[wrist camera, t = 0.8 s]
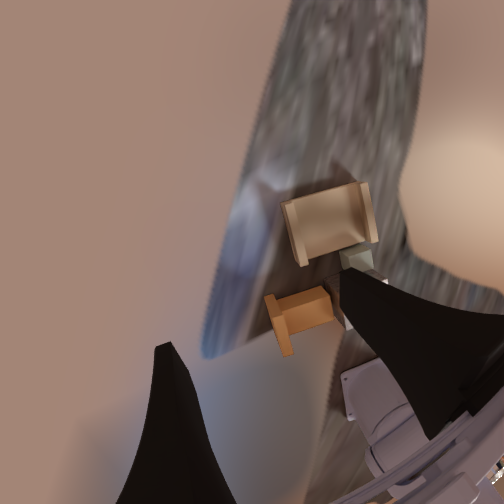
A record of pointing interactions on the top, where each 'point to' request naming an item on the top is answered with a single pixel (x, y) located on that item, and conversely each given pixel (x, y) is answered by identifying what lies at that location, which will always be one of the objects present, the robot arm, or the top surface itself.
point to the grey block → (333, 291)
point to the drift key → (298, 314)
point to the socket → (356, 258)
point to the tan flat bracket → (329, 220)
